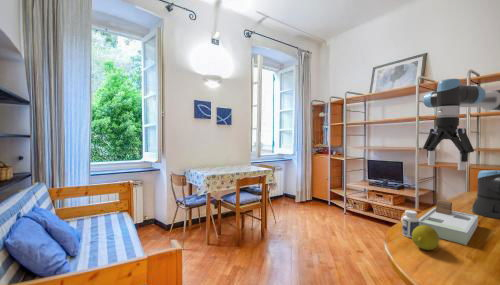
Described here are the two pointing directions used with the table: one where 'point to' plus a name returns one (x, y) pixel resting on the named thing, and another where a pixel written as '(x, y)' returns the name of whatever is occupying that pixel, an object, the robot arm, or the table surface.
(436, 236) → the lemon
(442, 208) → the walnut block
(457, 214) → the board
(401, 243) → the table surface
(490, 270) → the table surface
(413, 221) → the pill bottle
